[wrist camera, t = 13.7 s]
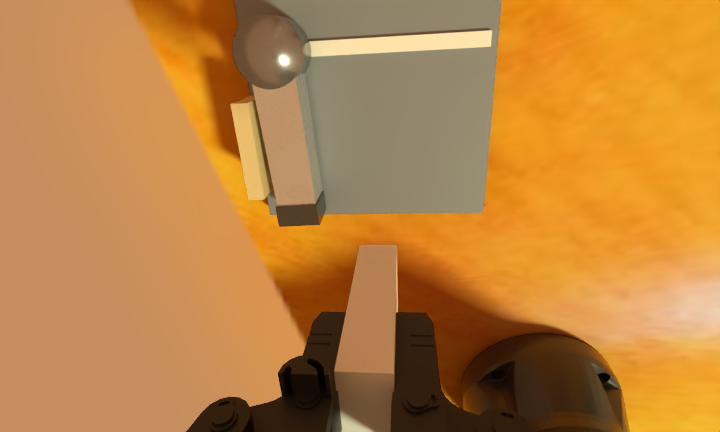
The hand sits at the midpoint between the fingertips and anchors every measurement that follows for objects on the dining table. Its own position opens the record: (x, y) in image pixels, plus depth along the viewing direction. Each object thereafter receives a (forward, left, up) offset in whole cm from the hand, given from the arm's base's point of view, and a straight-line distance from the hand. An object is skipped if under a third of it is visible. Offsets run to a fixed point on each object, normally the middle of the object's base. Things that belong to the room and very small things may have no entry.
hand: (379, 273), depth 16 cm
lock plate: (+8, +2, -17) cm, 19 cm away
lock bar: (+3, +7, -16) cm, 17 cm away
